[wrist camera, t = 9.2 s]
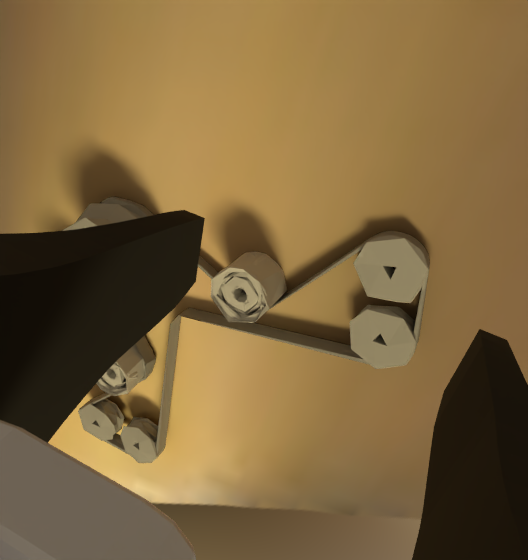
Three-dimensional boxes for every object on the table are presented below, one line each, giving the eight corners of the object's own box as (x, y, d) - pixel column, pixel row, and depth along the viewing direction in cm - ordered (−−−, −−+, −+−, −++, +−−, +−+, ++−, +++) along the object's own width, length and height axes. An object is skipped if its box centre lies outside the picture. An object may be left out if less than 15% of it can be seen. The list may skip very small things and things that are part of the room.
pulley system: (14, 295, 37) (138, 456, 38) (-45, 325, 33) (95, 503, 34) (291, 28, 21) (481, 315, 23) (241, 26, 17) (473, 372, 19)
